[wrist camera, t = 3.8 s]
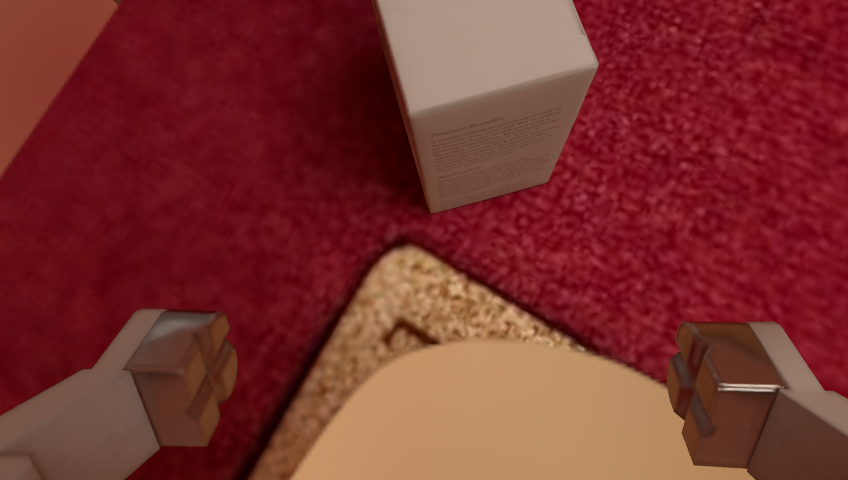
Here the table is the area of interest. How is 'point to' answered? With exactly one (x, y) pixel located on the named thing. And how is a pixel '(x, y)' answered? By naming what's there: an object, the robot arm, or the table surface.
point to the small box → (485, 90)
